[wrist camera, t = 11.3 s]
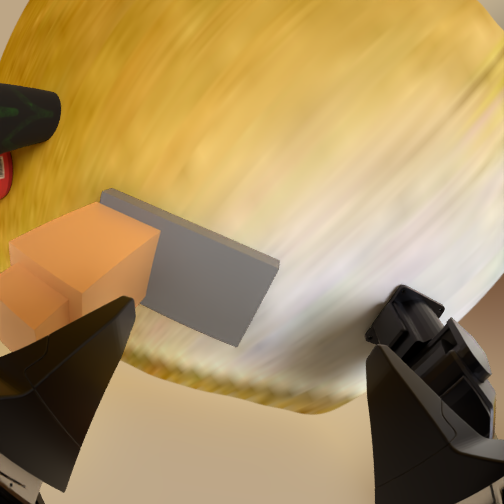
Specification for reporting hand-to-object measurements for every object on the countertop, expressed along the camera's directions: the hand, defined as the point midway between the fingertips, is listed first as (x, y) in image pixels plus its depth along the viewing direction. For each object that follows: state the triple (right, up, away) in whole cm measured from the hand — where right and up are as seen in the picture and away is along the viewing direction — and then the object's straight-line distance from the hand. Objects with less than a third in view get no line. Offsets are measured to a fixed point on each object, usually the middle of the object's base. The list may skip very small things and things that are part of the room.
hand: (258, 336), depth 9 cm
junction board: (-7, +2, +14) cm, 16 cm away
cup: (-22, +17, +10) cm, 30 cm away
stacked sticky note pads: (-12, +3, +13) cm, 18 cm away
